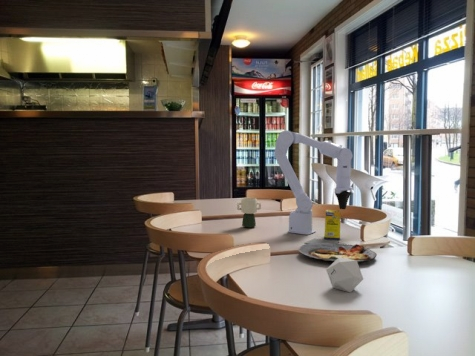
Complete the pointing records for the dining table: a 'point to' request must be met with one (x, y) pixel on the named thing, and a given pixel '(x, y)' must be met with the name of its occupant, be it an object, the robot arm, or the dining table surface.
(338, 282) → the die
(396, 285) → the dining table surface
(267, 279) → the dining table surface
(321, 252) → the food plate
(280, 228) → the dining table surface
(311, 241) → the mat
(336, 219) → the supplement box
